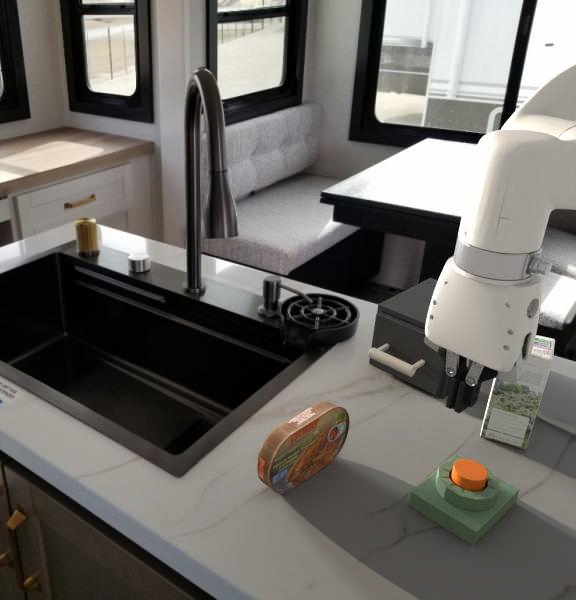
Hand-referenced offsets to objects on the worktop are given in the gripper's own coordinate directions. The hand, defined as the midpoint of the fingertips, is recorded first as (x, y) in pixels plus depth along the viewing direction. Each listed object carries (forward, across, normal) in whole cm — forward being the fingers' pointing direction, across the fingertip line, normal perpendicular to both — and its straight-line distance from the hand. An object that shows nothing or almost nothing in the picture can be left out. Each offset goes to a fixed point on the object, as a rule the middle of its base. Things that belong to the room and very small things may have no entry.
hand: (459, 405), depth 72 cm
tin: (+12, +13, +11) cm, 21 cm away
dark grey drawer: (+11, +16, -20) cm, 28 cm away
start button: (+8, -3, +1) cm, 9 cm away
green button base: (+12, -3, +1) cm, 13 cm away
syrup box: (+12, 0, -16) cm, 20 cm away
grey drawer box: (+12, +16, -24) cm, 31 cm away
